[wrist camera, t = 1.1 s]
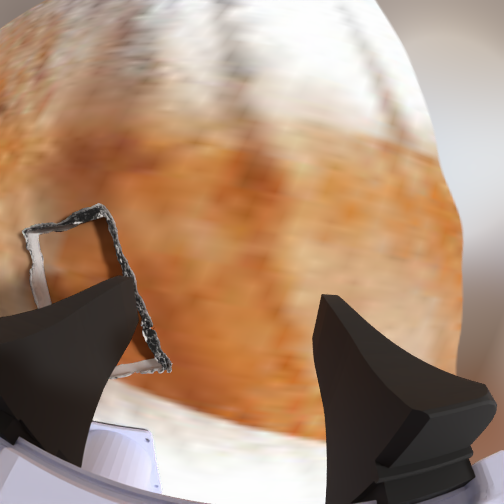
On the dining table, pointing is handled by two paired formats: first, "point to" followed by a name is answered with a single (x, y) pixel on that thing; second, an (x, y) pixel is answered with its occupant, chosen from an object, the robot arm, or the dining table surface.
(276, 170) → the dining table surface
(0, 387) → the robot arm
